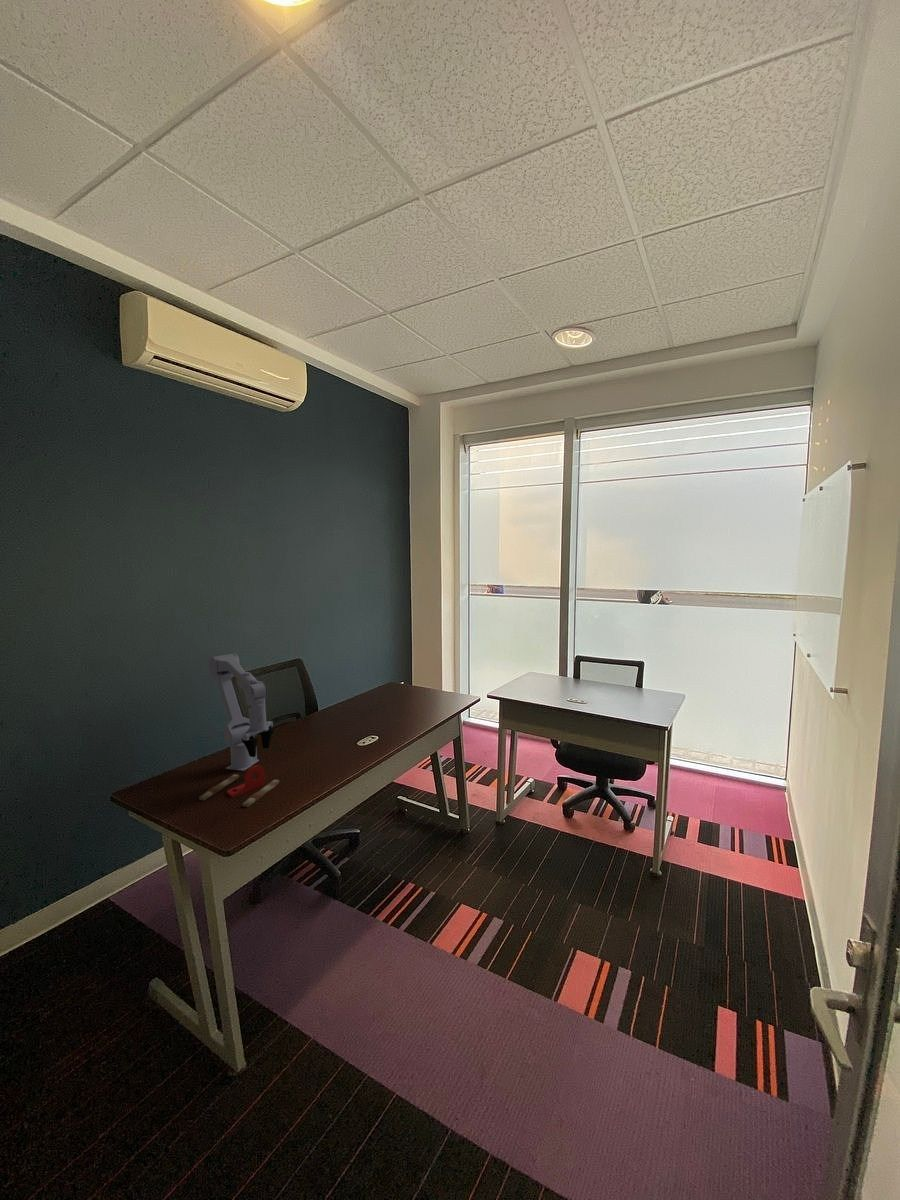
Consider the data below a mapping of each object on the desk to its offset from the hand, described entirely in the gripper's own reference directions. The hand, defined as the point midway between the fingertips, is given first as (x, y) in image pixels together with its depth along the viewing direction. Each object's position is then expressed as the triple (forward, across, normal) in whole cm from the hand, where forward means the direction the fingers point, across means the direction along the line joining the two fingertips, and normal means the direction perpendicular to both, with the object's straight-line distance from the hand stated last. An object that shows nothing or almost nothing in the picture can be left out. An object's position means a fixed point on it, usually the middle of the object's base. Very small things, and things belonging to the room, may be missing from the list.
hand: (259, 752), depth 178 cm
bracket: (+10, -9, -1) cm, 13 cm away
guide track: (+10, -11, 0) cm, 14 cm away
